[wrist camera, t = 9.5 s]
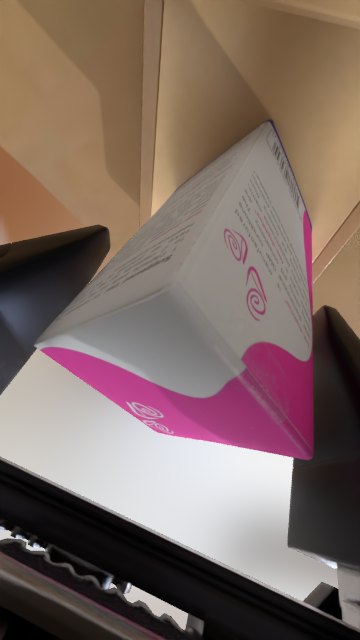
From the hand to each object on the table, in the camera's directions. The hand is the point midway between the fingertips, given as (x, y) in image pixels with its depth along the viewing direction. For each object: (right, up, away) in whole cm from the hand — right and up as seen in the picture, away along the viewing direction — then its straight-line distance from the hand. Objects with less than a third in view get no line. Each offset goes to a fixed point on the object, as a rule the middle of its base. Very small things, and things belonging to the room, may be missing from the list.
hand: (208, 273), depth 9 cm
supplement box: (+2, +4, +4) cm, 6 cm away
